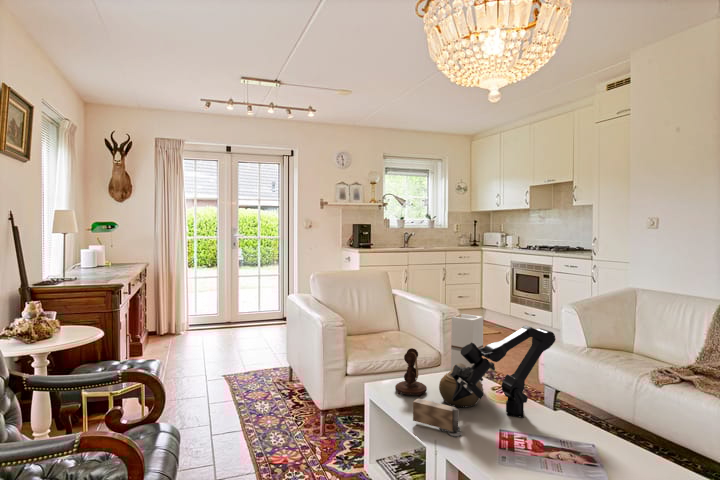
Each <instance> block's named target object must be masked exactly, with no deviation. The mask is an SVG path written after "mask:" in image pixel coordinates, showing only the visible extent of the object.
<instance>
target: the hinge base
mask: <svg viewBox="0 0 720 480" xmlns="http://www.w3.org/2000/svg"><path fill="white" fill-rule="evenodd" d="M447 434H448V436H450V437H453V438H460V437H462V436H463V432H462V430H461V429H460V430H458V431H454V430H452V431H450V430H448V431H447Z"/></svg>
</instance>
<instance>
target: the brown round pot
mask: <svg viewBox="0 0 720 480" xmlns="http://www.w3.org/2000/svg"><path fill="white" fill-rule="evenodd" d="M456 365H458V366H460V367H463V368H464V367H465V368H466V366H465V365H464V364H462V363H457V364H456ZM454 366H455V365H454ZM454 366H453V369H454ZM453 369H452V370H451V369H450V371H448V372H446V373H445V374H444V375H443V376H442V378H440V381H439V386H438V390H439V393H440V396H441V398H442V400H443V401H444V402H446V403H447V404H448V405H449V406H452V407H456V408H457V407H458V408H471V407H474V406H475V405H476V404H477V403H478V401H479V400H480V399H479V398H478V397H477V396H476V395H475V394H474V393H473V392H472V393H471V394H472V396H471V395H470V396H467V397H464V398H461V399H459V400H457V401H453V400H452V397H453V395H454V392H455V389H456V382H455V379H454V378H453V377H452V376H451V375H450V374H451V373H452V371H453ZM476 386H477V387H478V388H479V389H480V390H481V391H482V392H483V388H482V385H481V382H480V381H479V382H478V383H477V384H476Z"/></svg>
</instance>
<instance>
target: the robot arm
mask: <svg viewBox="0 0 720 480" xmlns="http://www.w3.org/2000/svg"><path fill="white" fill-rule="evenodd" d="M530 338H531V346H530V348H529V349H528V351H527V352H526V353H525V355H524V357H523V358H522V360H521V362H520V363H519V365H518V367H517V368H516V369H515V371H514V373H513V374H511V375H510V374H506V375H505V377H504V378H503V380H502V381H501V386H500V387H501V390H502V393H504V397H507V400H505V401H506V402H505V413H506V416H508V417H509V416H510V417H517V418H522V419H523V418H524V417H525V416H524V415H525V410H524V404H525V403H527V402H528V400H529V397H528V396H527V395H526V393H524V390H525V382H526V380H527V377H528V376H529V375H530V373H531V372H532V370H533V368H534V367H535V365H536V364H537V362H538V360H539V359H540V357H541V355H542V354H543V353H544V352H545V351H547V350H548V349H550V348H551V347H552V346H553V345H554V343H555V342H556V335H555V333H554V332H553V331H550V330H547V329H544V328H540V327H539V328H534V327H532V326H529V325H523V326H522V327H521V328H520V329H518V330H516V331H515V332H513V333H512V334H510V335H508V336H506V337H505V338H503V339H502V340H500V341H495V342H492V343H489V344H486V345H485V346H483V348H479V349H478V348H477V347H476V345H475V344H474V343H472V342H471V343H470V344H468V345H466V346H465V347H463V348H462V350H461V355H462V356H463V357H464V358H465V359H466V360H467V361H468V362H469V363H470V364H473V365H472V367H471V368H470V367H467V368H465V367H464V368H463V367H460V366H458V365H455V366H454V369H453V371H452V373H451V374H450V375H451V376H452V377H453V378H454V379H455V382H456V389H455V392H454V395H453V397H452V400H453V401H457V400H459V399H461V398H464V397H467V396H470V395H471V396H472V394H471V393H472V392H473V393H474V394H475V395H476V396H477V397H478V398H479V400H481V399H483V397H484V391H483V390H482V391H481V390H480V389H479V388H478V387H477V386H476V384H477V383H478V382H479V381H480V380H481V381H482V382H483V380H484V378H483V377H484V376H485V375H486V374H487V372H488V371H489V370H492V371H496V367H495V363H499V362H500V361H501V360H502V359H503V358H505V357H506V355H507V354H508V352H509V351H511V350H512V349H513V348H515V347H517V346H519V344H522V343H523V342H525V341H526V340H527V339H530ZM483 357H484V358H483ZM490 361H491V362H490Z"/></svg>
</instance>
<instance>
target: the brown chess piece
mask: <svg viewBox="0 0 720 480" xmlns="http://www.w3.org/2000/svg"><path fill="white" fill-rule="evenodd" d="M418 358H419V352H418V350H417V349H415V348H409V349H407V351H406V353H405V354H404V356H403V360H404V362H405V363H406V364H407V368H406V371H405V373H404V376H403V379H404V381H403V380H402V381H400V382H398V383H396V384H395V386H394V387H395V391H396V392H397V393H398V395H401V394H404V395H409V396H411V395H413V396H415V395H416V396H417V395H418V397H419V398H420V397H421V395H422V394H425V393H426V392H427V390H428V389H427V385H426V384H424V383H423V382H420V381H417V380H418V378H419V367H418Z"/></svg>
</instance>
